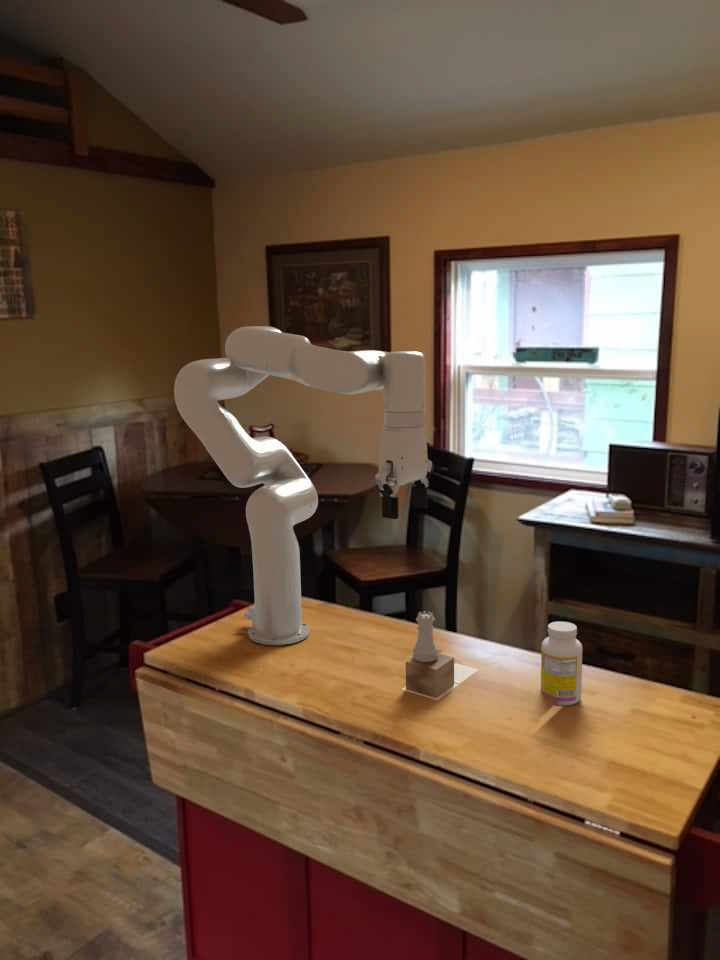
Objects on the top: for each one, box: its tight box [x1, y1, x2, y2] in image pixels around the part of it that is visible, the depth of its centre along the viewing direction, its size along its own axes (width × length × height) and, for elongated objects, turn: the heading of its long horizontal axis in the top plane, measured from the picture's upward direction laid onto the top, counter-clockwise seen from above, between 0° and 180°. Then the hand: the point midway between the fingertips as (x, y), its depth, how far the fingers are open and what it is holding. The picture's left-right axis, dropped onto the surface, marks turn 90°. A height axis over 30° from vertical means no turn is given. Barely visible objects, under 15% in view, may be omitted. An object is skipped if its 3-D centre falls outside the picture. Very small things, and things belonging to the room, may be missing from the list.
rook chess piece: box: [412, 611, 439, 663], centre depth 137 cm, size 4×4×8 cm
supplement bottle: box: [540, 621, 583, 707], centre depth 135 cm, size 7×7×13 cm
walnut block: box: [405, 652, 455, 698], centre depth 138 cm, size 6×6×5 cm
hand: (405, 512), depth 149 cm, fingers open, 9 cm apart
